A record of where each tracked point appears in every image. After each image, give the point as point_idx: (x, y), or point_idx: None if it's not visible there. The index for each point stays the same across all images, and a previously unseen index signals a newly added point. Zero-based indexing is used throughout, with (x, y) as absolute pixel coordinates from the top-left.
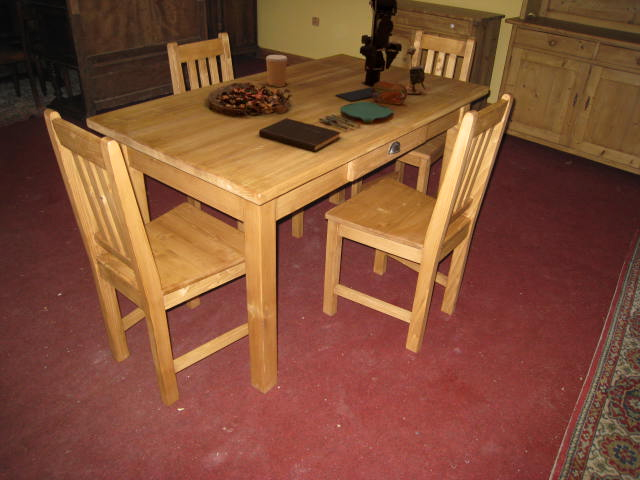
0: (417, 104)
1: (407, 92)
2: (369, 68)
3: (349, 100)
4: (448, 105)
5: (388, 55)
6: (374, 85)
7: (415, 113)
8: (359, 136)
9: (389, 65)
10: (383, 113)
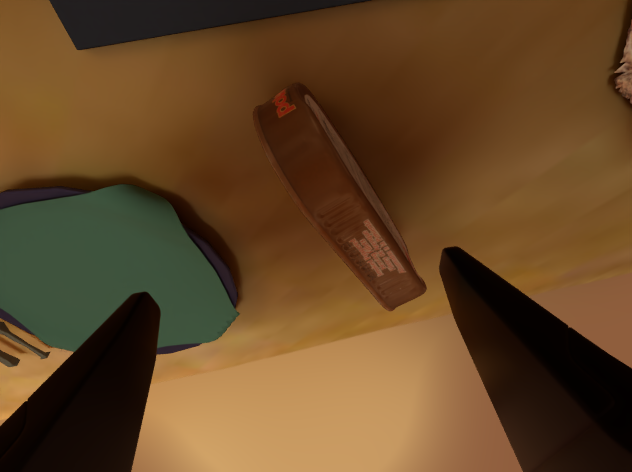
0: (452, 242)
1: (628, 70)
2: (102, 333)
3: (60, 16)
4: (541, 286)
5: (583, 465)
6: (272, 146)
7: (343, 309)
8: (38, 380)
9: (466, 326)
10: (186, 317)
